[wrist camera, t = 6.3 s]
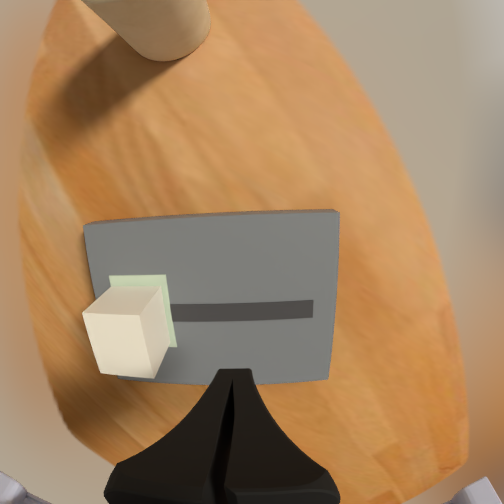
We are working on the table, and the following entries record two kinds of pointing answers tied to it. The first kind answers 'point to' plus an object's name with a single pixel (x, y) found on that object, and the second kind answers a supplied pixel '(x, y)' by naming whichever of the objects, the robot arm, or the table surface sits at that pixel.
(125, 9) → the candle
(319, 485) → the robot arm
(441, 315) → the table surface
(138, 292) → the knob
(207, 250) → the slider board
